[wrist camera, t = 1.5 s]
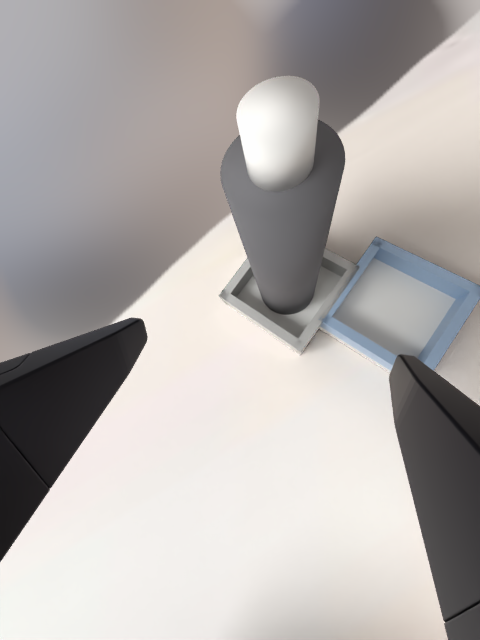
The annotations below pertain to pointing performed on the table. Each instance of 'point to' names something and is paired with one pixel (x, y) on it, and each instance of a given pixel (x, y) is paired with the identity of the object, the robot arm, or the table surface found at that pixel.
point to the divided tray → (369, 305)
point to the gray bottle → (283, 188)
